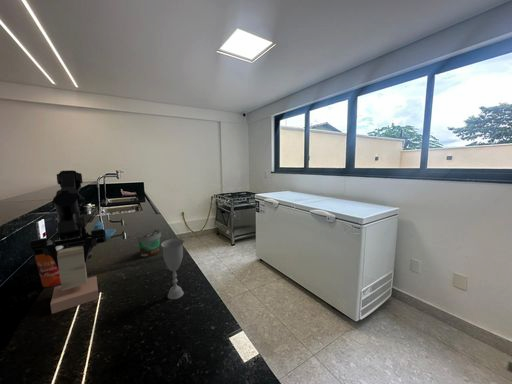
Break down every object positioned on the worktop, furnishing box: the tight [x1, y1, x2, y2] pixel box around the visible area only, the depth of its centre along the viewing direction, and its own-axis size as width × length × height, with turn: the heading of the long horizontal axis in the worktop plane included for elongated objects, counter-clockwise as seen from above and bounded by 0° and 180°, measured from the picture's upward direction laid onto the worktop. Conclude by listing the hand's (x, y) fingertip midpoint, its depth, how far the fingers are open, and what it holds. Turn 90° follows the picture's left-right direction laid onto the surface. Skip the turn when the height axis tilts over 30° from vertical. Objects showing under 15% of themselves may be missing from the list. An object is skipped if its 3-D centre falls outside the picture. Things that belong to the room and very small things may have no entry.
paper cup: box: [34, 245, 64, 288], centre depth 77 cm, size 8×8×14 cm
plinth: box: [50, 275, 99, 314], centre depth 69 cm, size 11×11×3 cm
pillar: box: [57, 245, 88, 291], centre depth 68 cm, size 6×6×11 cm
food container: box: [137, 229, 162, 259], centre depth 101 cm, size 12×6×10 cm, turn 168°
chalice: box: [160, 238, 185, 300], centre depth 70 cm, size 7×7×18 cm
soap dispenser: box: [93, 220, 117, 241], centre depth 122 cm, size 18×10×9 cm, turn 53°
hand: (72, 265), depth 67 cm, fingers closed on pillar, 6 cm apart
